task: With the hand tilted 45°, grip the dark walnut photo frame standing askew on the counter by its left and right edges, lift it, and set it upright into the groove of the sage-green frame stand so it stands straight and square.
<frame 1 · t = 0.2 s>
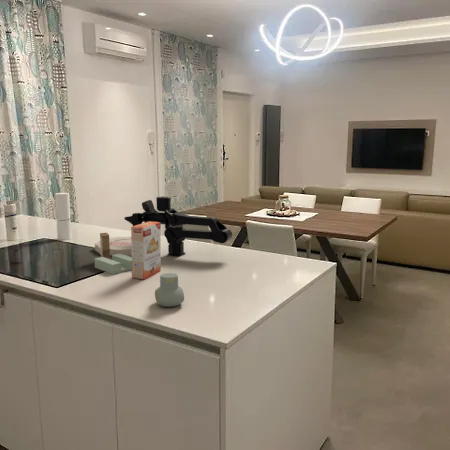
hand: (129, 216, 222), 17 cm above the countertop, tool horizontal, fingers open, 9 cm apart
photo frame: (105, 261, 203), on the countertop
air freshener: (169, 304, 151), on the countertop
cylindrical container: (64, 238, 249), on the countertop
frame stand: (116, 267, 193), on the countertop
decorative plaque: (127, 250, 227), on the countertop
cracker box: (147, 275, 184), on the countertop
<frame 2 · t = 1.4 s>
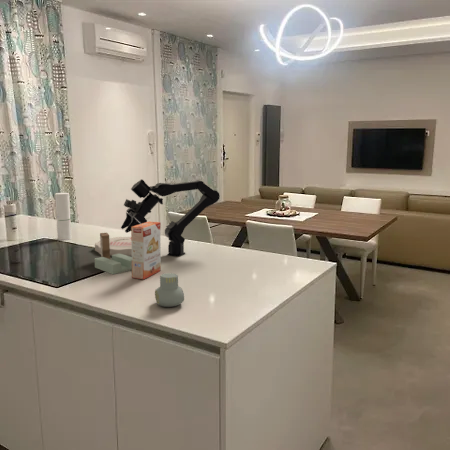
hand: (123, 230, 204), 14 cm above the countertop, tool tilted 45°, fingers open, 9 cm apart
nothing on the countertop moved.
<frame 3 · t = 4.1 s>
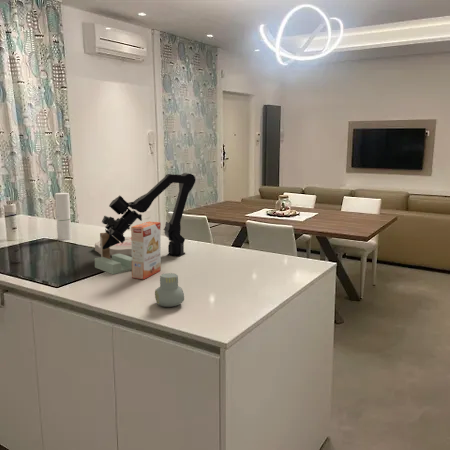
hand: (101, 247, 202), 7 cm above the countertop, tool tilted 45°, fingers closed on photo frame, 6 cm apart
photo frame: (105, 261, 203), on the countertop, touching gripper
everything else where it was.
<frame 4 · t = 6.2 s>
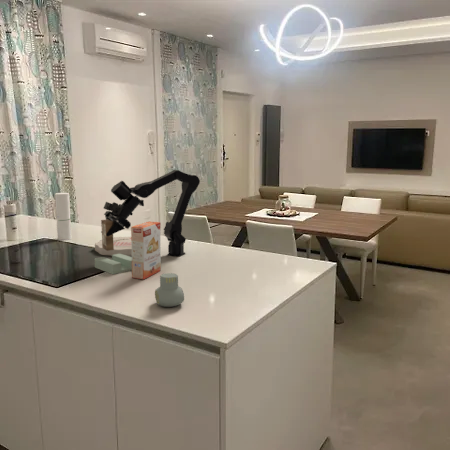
hand: (104, 234, 196), 13 cm above the countertop, tool tilted 45°, fingers closed on photo frame, 6 cm apart
photo frame: (108, 248, 198), point 7 cm above the countertop, touching gripper
everything else where it was.
when the fingers open (9 cm above the countertop, at t = 8.4 s): photo frame drops 1 cm, resting on frame stand.
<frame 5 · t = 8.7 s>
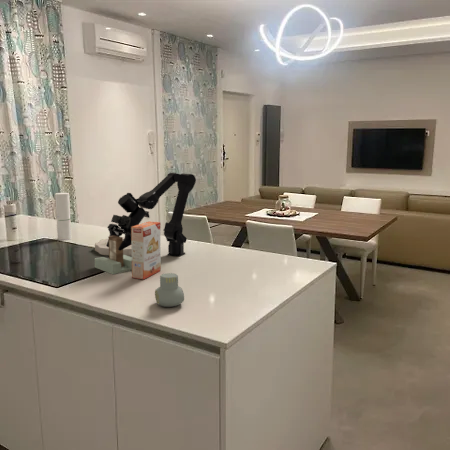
hand: (113, 248, 190), 9 cm above the countertop, tool tilted 45°, fingers open, 9 cm apart
photo frame: (116, 265, 193), point 1 cm above the countertop, touching frame stand
everything else where it was.
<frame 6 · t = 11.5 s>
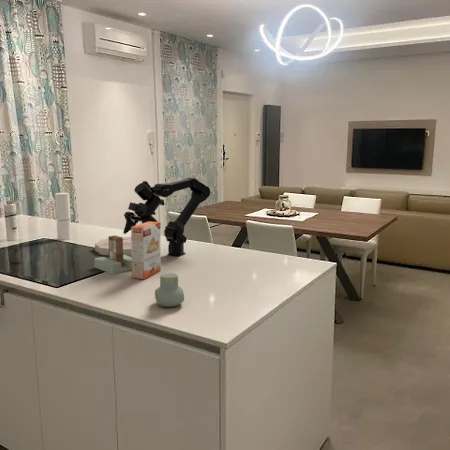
hand: (130, 235, 196), 13 cm above the countertop, tool tilted 45°, fingers open, 9 cm apart
nothing on the countertop moved.
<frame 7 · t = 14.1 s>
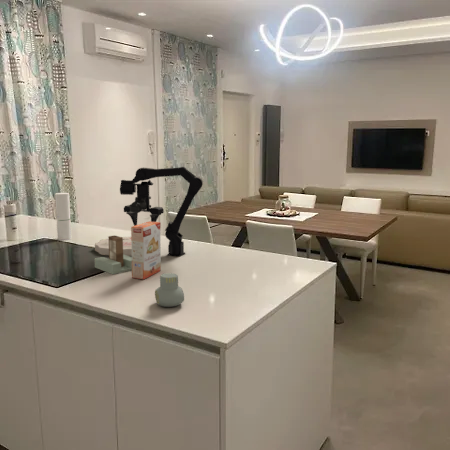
hand: (143, 227, 214), 13 cm above the countertop, tool pointing down, fingers open, 9 cm apart
nothing on the countertop moved.
at the end: photo frame inside the target area on the frame stand (0.0 cm from its centre), point 1.0 cm above the frame stand's base; photo frame tilted 0°; the gripper is holding nothing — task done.
